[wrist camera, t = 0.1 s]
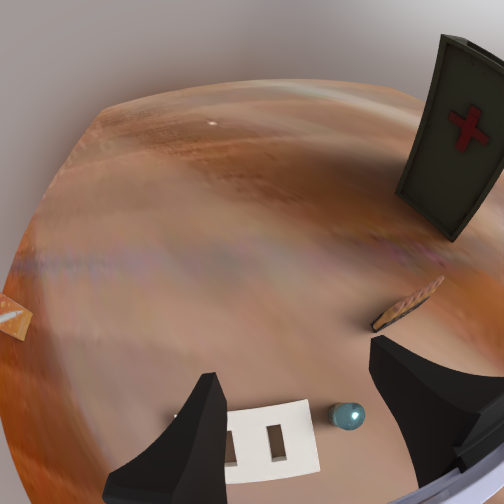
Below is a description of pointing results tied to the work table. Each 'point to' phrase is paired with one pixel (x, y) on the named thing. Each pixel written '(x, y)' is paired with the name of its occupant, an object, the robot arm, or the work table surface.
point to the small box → (13, 318)
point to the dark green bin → (457, 137)
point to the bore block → (258, 446)
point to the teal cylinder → (346, 415)
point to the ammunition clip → (406, 305)
